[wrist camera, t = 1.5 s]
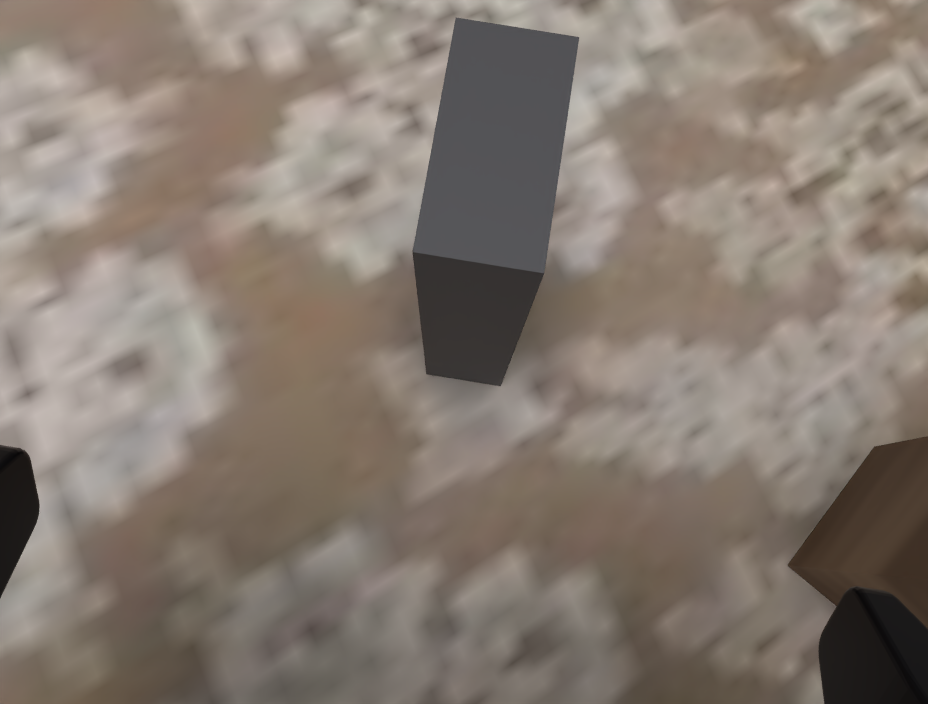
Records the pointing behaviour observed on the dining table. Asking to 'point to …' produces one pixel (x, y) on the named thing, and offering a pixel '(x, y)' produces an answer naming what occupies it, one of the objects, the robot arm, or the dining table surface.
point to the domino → (875, 530)
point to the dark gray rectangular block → (490, 194)
